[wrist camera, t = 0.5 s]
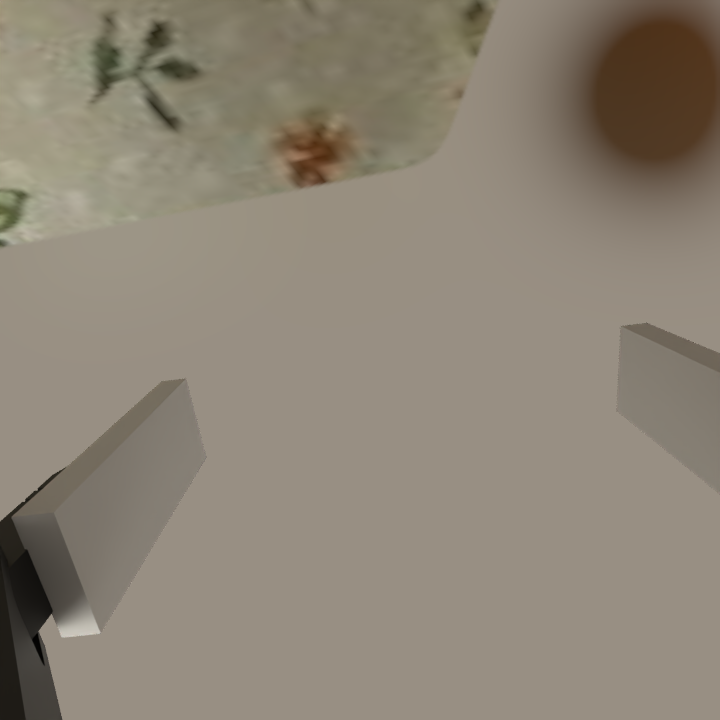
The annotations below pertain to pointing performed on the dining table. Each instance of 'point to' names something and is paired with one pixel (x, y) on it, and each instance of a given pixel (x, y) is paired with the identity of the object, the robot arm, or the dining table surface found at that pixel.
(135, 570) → the robot arm
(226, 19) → the dining table surface
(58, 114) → the dining table surface
